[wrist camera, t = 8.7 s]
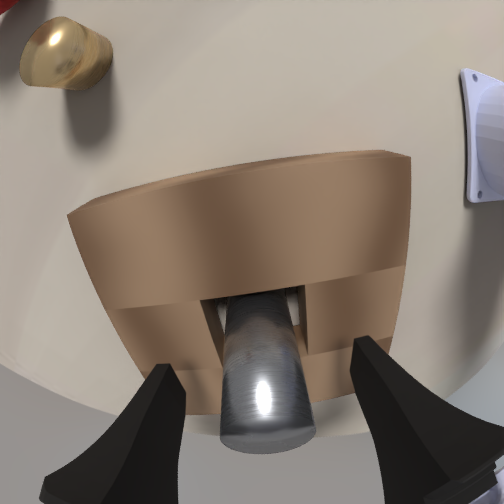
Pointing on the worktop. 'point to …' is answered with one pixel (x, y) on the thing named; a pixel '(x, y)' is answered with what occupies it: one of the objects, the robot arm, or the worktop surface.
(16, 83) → the worktop surface
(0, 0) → the onion
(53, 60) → the short brass pin
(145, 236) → the walnut hole plate
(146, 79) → the worktop surface
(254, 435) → the long steel pin
